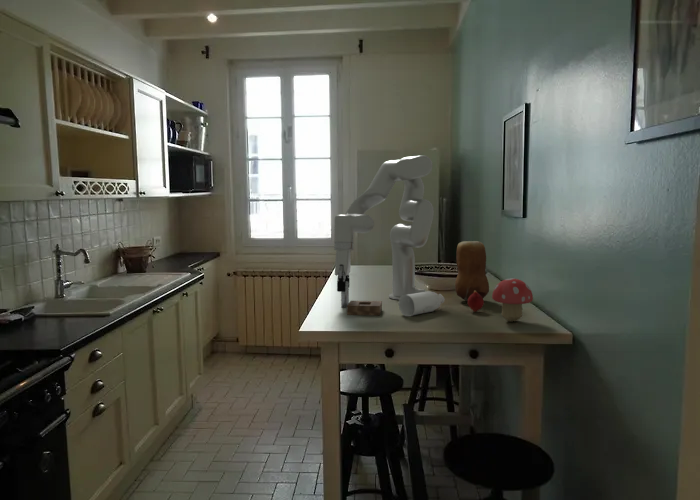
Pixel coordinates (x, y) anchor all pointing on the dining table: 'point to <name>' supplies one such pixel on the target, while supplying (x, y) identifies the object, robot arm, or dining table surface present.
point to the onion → (475, 301)
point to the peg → (345, 296)
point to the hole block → (364, 308)
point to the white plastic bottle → (420, 303)
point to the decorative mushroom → (512, 297)
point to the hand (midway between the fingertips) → (343, 289)
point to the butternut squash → (471, 270)
